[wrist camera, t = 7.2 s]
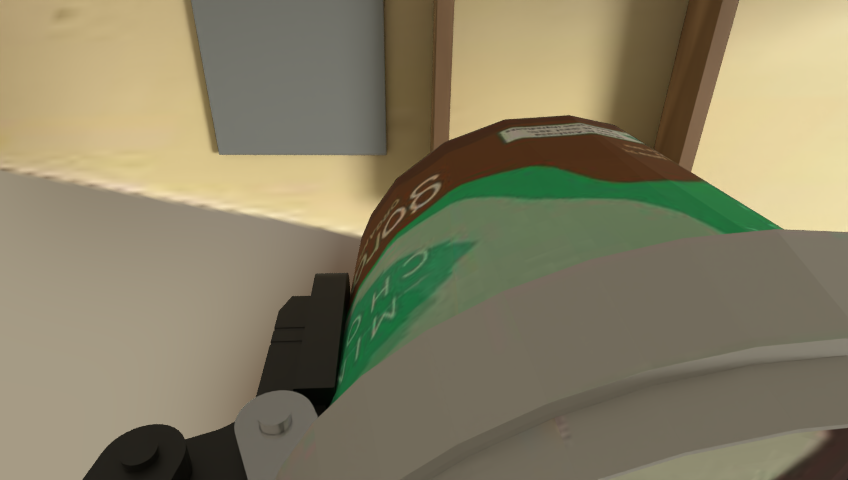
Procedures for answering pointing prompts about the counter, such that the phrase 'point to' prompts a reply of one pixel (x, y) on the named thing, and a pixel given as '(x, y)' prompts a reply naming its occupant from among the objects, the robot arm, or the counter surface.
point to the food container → (583, 324)
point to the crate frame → (686, 92)
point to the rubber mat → (294, 75)
